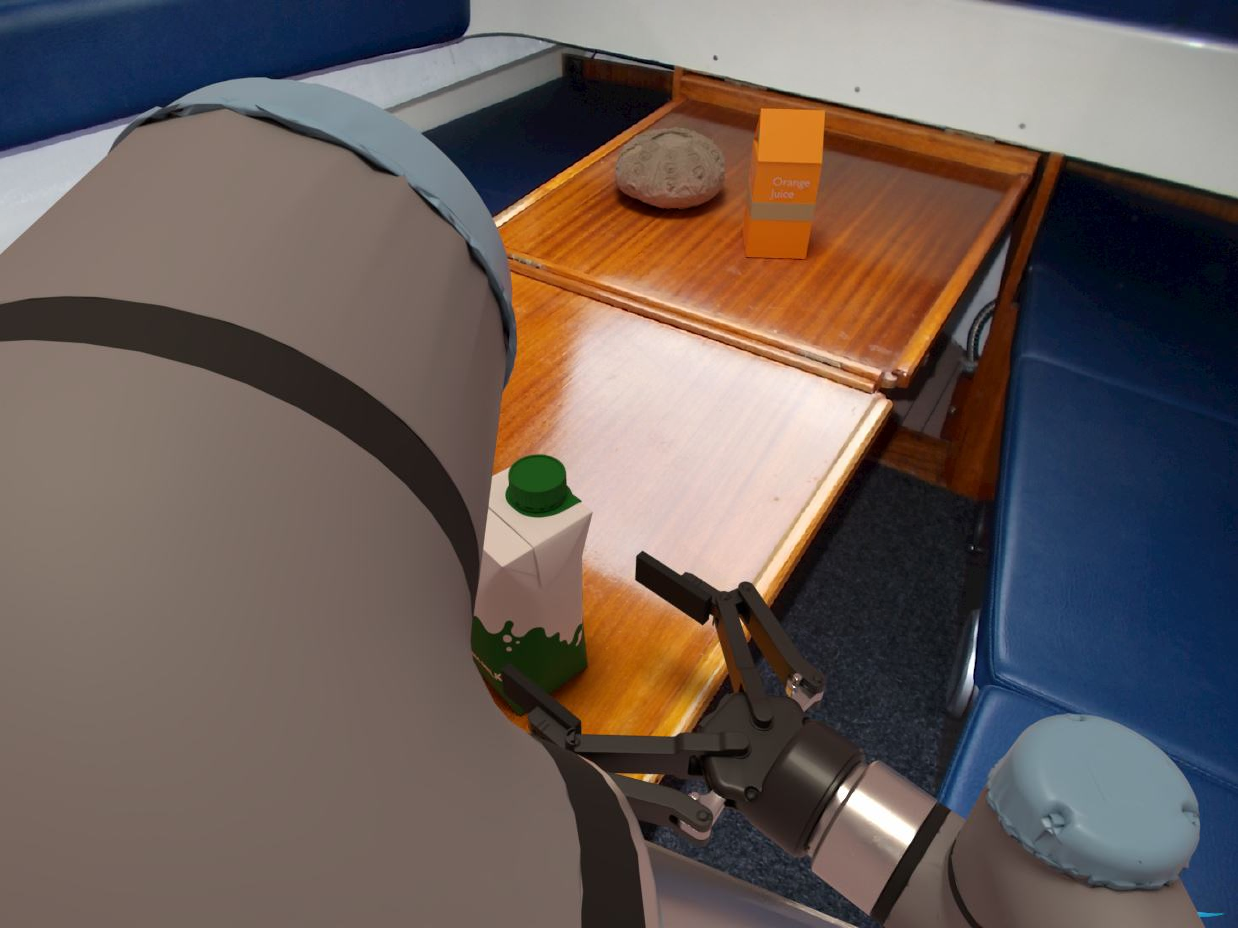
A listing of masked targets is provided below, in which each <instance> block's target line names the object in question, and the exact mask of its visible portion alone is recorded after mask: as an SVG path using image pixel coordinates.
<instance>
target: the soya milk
mask: <svg viewBox="0 0 1238 928" xmlns="http://www.w3.org/2000/svg"><path fill="white" fill-rule="evenodd" d="M593 513H594V512H593V511H592V510H591V509H590V508H589V507H588V506H586V505H585V504H583V501H582V500H581V498H579V497H578V496H576V495H575V494H573V491H572V490H571V488H570V486H568V483H567V471H566V467H565V465H564V463H563V462H562V461H560V460H559V459H558V458H556V457H554V456H552V455H549V454H542V453H540V454H539V453H535V454H529V455H526V456H525V455H524V456H522V457H520V458H518V459H516V460H515V461H514V462H513V463H512V465H511V466H509V467H507V468H505V469H503V470H501V471H500V472H497V473H495V474H493V475H492V482H491V490H490V498H489V506H488V514H487V523H486V531H485V539H484V547H483V555H482V563H481V571H480V578H479V584H478V590H477V596H476V602H475V609H474V617H473V624H472V632H471V650H472V657H473V661H474V663H475V665H476V667H477V669H478V671H479V673H480V675H481V677H482V678H483V679H485V680H486V681H487V683H488V684H489V685H490V686H491V687H492V688H493V689H494V690H495V692H497V694H499V696H500V697H501V698H502V699H503V700H504V701H505V702H506V703H507V704H508V706H510V708H512V710H513V711H514V712H515V713H516V714H517V715H518V716H519V717H520V716H522V715H523V714H524V713H526V712H525V711H524V710H523V709H522V708H521V707H519V706H518V705H517V704H516V703H515V702H513V701H512V700H511V699H510V698H509V697H508V696H506V695H505V694H504V690H503V682H502V674H501V669H502V668H503V667H505V666H506V665H507V664H508V663H511V664H512V665H513V666H514V667H516V668H517V669H518V670H519V671H521V672H522V673H523V674H524V675H525V676H527V677H528V678H529V679H530V680H532V681H533V682H534V683H535V684H537V685H538V686H539V687H540V688H542V689H543V690H544V691H545V692H546V693H548V694H549V695H550V694H552V693H553V692H555V691H556V690H558V689H559V688H560V687H561V686H563V685H564V684H566V683H567V682H569V680H571V679H572V678H574V677H576V676H577V675H578V674H580V673H581V672H582V671H583V670H585V669H586V668H587V667H589V663H588V656H587V646H586V637H585V628H584V627H585V625H584V597H583V596H584V593H583V587H584V585H583V582H584V581H583V554H584V550H585V546H586V542H587V537H588V534H589V529H590V526H591V522H592V517H593Z"/></svg>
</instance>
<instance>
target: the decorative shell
mask: <svg viewBox="0 0 1238 928" xmlns="http://www.w3.org/2000/svg"><path fill="white" fill-rule="evenodd" d="M723 153H724V150H722V149H720V148H719V147H718V145H717V144H716V143H715V141H714V139H710V138H708V137H707V136H706V135H703V134H701V133H699V132H698V133H697V132H696V131H695V130H691V129H689V128H685V127H677V126H674V127H669V128H666V127H665V128H659V129H658V128H657V129H656V128H652V129H651V130H647V131H644V132H642V133H639V134H637V135H634V136H633V138H631V139H630V140H629V141H628V142H627V143H626V144H623V145H622V148H621V149H620V152H619V153H618V156H617V159H616V162H615V165H614V169H613V172H614V176H615V182H616V185H617V187H618V189H619V190H620V191H621V192H622V193H623V194H625V195H627V196H629V197H630V198H633V199H636V200H638V201H640V202H642V203H644V204H647V205H650V206H652V207H653V206H654V207H656V208H661V209H664V208H665V209H664V210H671V209H670V208H675V209H676V208H678V209H677V210H684V209H688V208H692V207H698V206H700V205H702V204H704V203H708V202H709V201H711V200H712V199H713V198H715V196H716V195H717V194H719V192H720V191H721V189H722V187H723V186H724V183H725V181H726V175H727V172H726V169H727V167H726V158H725V157H724V155H723Z"/></svg>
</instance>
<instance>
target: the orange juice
mask: <svg viewBox="0 0 1238 928" xmlns="http://www.w3.org/2000/svg"><path fill="white" fill-rule="evenodd" d="M825 117H826V110H824V109H796V108H795V109H792V108H791V109H790V108H789V109H788V108H762V107H761V108H760V111H759V117H758V120H757V125H756V129H755V133H754V138H753V140H752V141H753V142H752V150H751V159H750V166H749V175H748V180H747V189H746V202H745V209H744V218H743V227H742V234H743V235H742V239H743V238H744V242H743V247H744V246H745V249H744V255H745V254H746V256H748V257H771V258H773V257H775V258H778V257H779V258H802V259H804V258H806V259H807V253H808V247H809V242H810V236H811V230H812V225H813V222H814V215H815V210H816V202H817V197H818V196H817V195H818V190H819V184H820V180H821V173H822V167H823V154H824V152H823V151H824V137H825V136H824V135H825V119H826V118H825ZM746 256H745V257H746Z"/></svg>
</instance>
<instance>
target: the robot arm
mask: <svg viewBox="0 0 1238 928" xmlns="http://www.w3.org/2000/svg"><path fill="white" fill-rule="evenodd" d="M512 281H513V280H512V273H511V266H510V263H509V258H508V253H507V251H506V248H505V245H504V242H503V238H502V237H501V234H500V231H499V229H498V227H497V224H496V222H495V220H494V218H493V216H492V214H491V213H490V210H489V209H488V207H487V206H486V204H485V203H484V201H483V199H482V197H481V196H480V194H479V193H478V191H477V190H476V188H474V186H473V184H472V183H471V182H470V181H469V179H468V178H467V176H465V174H464V173H463V172H462V171H461V169H460V168H459V167H458V166H457V165H456V164H455V163H454V162H453V161H452V160H451V159H450V158H449V157H448V156H447V155H446V154H445V153H444V152H443V151H442V150H441V149H440V148H438V146H437V145H436V144H435V143H433V142H432V141H431V140H430V139H429V138H428V137H426V136H425V135H423V134H422V133H421V132H420V131H418V130H417V129H416V128H414V127H413V126H411V125H410V124H408V123H407V122H405V121H404V120H402V119H401V118H399V117H397V116H395V114H392V113H391V112H389V111H387V110H386V109H384V108H381V107H380V106H378V105H376V104H374V103H372V102H370V101H368V100H366V99H363V98H361V97H359V96H356V95H354V94H351V93H349V92H345V91H343V90H341V89H337V88H335V87H330V86H327V85H323V84H320V83H310V82H305V81H301V80H299V81H298V80H294V79H272V78H268V77H244V78H234V79H229V80H225V81H220V82H216V83H212V84H210V85H206V86H204V87H201V88H199V89H195V90H194V91H191V92H190V93H189V92H188V93H187V94H185V95H184V96H182V97H180V98H178V99H176V100H174V101H173V102H171V103H170V104H168V105H166V106H165V107H160V106H155V107H153V108H150V109H149V110H146V111H145V112H143V113H141V114H139V115H138V116H137V117H136V118H134V119H133V120H132V121H131V122H130V123H128V124H127V125H126V126H125V127H124V129H123V130H122V131H121V132H120V133H119V134H118V135H117V136H116V137H115V139H114V140H113V142H112V144H111V146H110V148H109V150H108V152H107V154H106V155H105V156H104V157H103V158H102V159H101V160H100V161H98V162H97V164H96V165H95V166H93V167H92V168H91V170H89V171H88V172H87V173H86V174H85V175H84V176H83V177H81V179H80V180H79V181H77V182H76V183H75V184H74V185H73V186H72V187H71V188H70V189H69V190H68V191H66V192H65V194H63V195H62V196H61V197H60V198H59V199H58V200H57V201H56V202H55V203H53V204H52V206H50V207H49V208H48V209H47V210H46V211H45V212H44V213H43V214H42V215H40V217H38V218H37V220H35V221H34V222H33V223H32V224H31V225H30V226H29V227H28V228H27V229H26V230H24V232H22V234H20V235H19V236H18V237H17V238H16V239H15V240H14V241H13V242H11V244H9V246H8V247H7V248H5V249H4V250H3V251H2V252H1V253H0V928H859V927H858V926H855V925H853V924H851V923H849V922H846V921H844V920H842V919H839V918H836V917H834V916H831V915H829V914H826V913H824V912H822V911H819V910H816V909H815V908H811V907H809V906H808V905H804V904H802V903H800V902H797V901H795V900H792V899H790V898H787V897H785V896H782V895H780V894H778V893H775V892H773V891H770V890H768V889H766V888H763V887H761V886H759V885H756V884H753V883H750V882H748V881H746V880H744V879H741V878H739V877H736V876H734V875H731V874H729V873H726V872H724V871H722V870H719V869H717V868H714V867H712V866H709V865H707V864H704V863H702V862H700V861H697V860H695V859H692V858H691V857H687V856H685V855H682V854H681V853H678V852H675V851H673V850H671V849H668V848H665V847H663V846H661V845H659V844H656V843H653V842H651V841H649V840H647V839H645V838H644V835H643V833H642V830H641V827H640V823H639V821H642V822H646V823H649V824H652V825H653V824H654V825H657V826H661V827H665V828H669V829H671V830H672V831H673V832H675V833H677V834H678V835H680V836H681V837H683V838H684V839H686V840H687V841H689V842H690V843H691V844H693V845H695V846H698V847H703V846H706V845H707V844H708V843H709V841H710V839H711V833H712V828H713V826H714V824H715V823H716V821H717V820H718V818H719V817H720V815H721V813H722V812H723V811H724V809H725V808H726V809H731V810H733V811H736V812H737V813H740V814H741V815H742V816H743V817H745V819H746V820H747V821H748V822H749V823H750V824H751V825H752V826H753V827H754V828H756V829H757V830H758V831H760V832H761V833H762V834H763V835H765V837H767V838H768V839H770V840H771V841H772V842H773V843H774V844H776V845H777V846H779V847H780V848H781V849H782V850H784V851H785V852H786V853H788V855H790V856H791V857H793V858H794V859H796V858H799V859H802V858H805V857H806V856H809V857H810V858H811V859H810V864H809V865H810V869H811V872H812V873H814V874H815V875H816V876H817V877H819V878H820V879H821V880H822V881H824V882H825V883H826V884H828V885H829V886H830V887H831V888H833V889H834V890H835V891H837V892H838V893H839V894H840V895H842V896H843V897H844V898H845V899H847V900H848V901H849V902H851V903H852V904H853V905H855V906H856V907H857V908H859V909H860V910H861V911H862V912H864V913H865V914H866V915H868V916H870V918H871V919H872V920H873V921H874V922H876V923H877V924H879V925H881V926H882V927H884V928H1206V926H1205V925H1204V922H1203V921H1202V919H1201V917H1200V914H1199V912H1198V910H1197V909H1196V906H1195V905H1194V903H1193V901H1192V899H1191V897H1190V895H1189V893H1188V891H1187V889H1186V887H1185V885H1184V884H1183V881H1182V880H1181V874H1182V873H1184V871H1185V870H1186V869H1190V861H1192V856H1193V854H1194V853H1195V852H1196V850H1197V847H1198V844H1199V842H1200V837H1201V836H1200V831H1201V822H1200V811H1199V802H1198V800H1197V797H1196V794H1195V792H1194V790H1193V788H1192V786H1191V784H1190V782H1189V781H1188V779H1187V778H1186V776H1185V775H1184V772H1183V771H1182V770H1181V769H1180V768H1179V767H1178V765H1177V764H1176V763H1175V762H1174V761H1173V760H1172V759H1171V758H1170V757H1169V756H1168V755H1167V754H1166V753H1165V752H1164V751H1163V750H1162V749H1161V748H1160V747H1159V746H1157V745H1156V744H1155V743H1153V741H1151V740H1149V739H1148V738H1146V737H1145V736H1143V735H1142V734H1140V733H1138V732H1137V731H1134V730H1133V729H1131V728H1129V727H1127V726H1125V725H1123V724H1121V723H1119V722H1117V721H1114V720H1111V719H1107V718H1105V717H1101V716H1097V715H1091V714H1078V713H1063V714H1056V715H1050V716H1047V717H1044V718H1041V719H1039V720H1037V721H1036V722H1034V723H1032V724H1031V725H1029V726H1028V727H1026V728H1025V729H1024V730H1023V731H1022V732H1021V733H1020V734H1019V736H1018V737H1017V738H1016V740H1015V742H1014V743H1013V744H1012V745H1011V747H1010V748H1009V749H1008V751H1006V753H1005V754H1004V756H1003V757H1001V758H1000V759H998V760H997V763H996V764H994V765H992V766H991V767H990V770H989V772H988V774H987V775H986V782H985V784H984V786H983V788H982V790H981V792H980V794H979V795H978V797H977V799H976V801H975V803H974V804H973V806H972V809H971V810H970V812H969V814H968V815H967V817H966V818H964V817H962V816H961V815H959V814H958V813H956V812H955V811H953V810H952V809H951V808H949V806H947V805H945V803H944V804H943V803H942V802H941V801H940V802H939V800H938V799H937V798H935V797H934V796H933V795H931V794H930V793H928V792H927V791H926V790H925V789H922V788H921V787H920V786H918V785H917V784H915V783H914V782H912V781H911V780H910V779H908V778H906V776H904V775H903V774H901V773H899V772H898V771H897V770H896V769H895V768H892V767H891V766H890V765H888V764H887V763H885V762H883V761H882V760H881V759H880V760H875V761H873V762H871V763H869V764H868V763H866V762H865V761H866V754H865V753H864V749H863V748H862V747H861V746H859V745H858V744H856V743H855V742H853V741H852V740H851V739H849V738H848V737H846V736H845V735H843V734H842V733H840V732H839V731H837V730H836V729H834V728H833V727H832V726H831V725H828V724H827V723H826V722H824V721H822V720H819V719H812V718H811V717H810V716H808V715H807V713H806V711H807V710H808V709H809V708H811V709H816V708H818V707H820V705H821V703H822V700H823V697H824V694H825V690H826V686H827V683H828V678H827V676H826V675H825V674H824V673H823V672H822V671H820V670H819V669H818V668H817V667H815V666H814V665H813V664H811V663H810V662H809V661H808V660H807V659H805V658H804V657H803V655H802V653H801V652H800V651H799V650H798V648H797V646H796V645H795V644H794V642H793V641H792V639H791V638H790V636H789V634H787V632H786V629H784V628H783V626H782V625H781V623H780V622H779V620H778V618H777V617H776V616H775V614H774V613H773V611H772V610H771V608H770V607H769V605H768V604H767V603H766V601H765V599H764V598H763V596H762V595H761V594H760V592H759V591H758V589H757V587H756V586H755V585H754V584H753V583H752V582H750V581H747V580H745V581H741V582H739V583H738V585H737V588H734V589H732V590H729V591H727V590H719V589H717V588H715V587H714V586H713V585H711V584H710V583H708V582H707V581H705V580H703V579H702V578H700V577H698V576H697V575H695V574H694V573H692V572H688V571H684V572H683V573H682V574H680V573H678V572H677V571H676V570H674V569H673V568H671V567H669V566H668V565H666V564H665V563H663V562H661V561H660V560H658V559H657V558H655V557H653V555H651V554H649V553H647V552H646V551H644V550H641V551H640V552H639V553H638V554H637V555H635V572H634V581H636V582H637V583H639V585H642V586H643V587H644V588H646V589H648V590H649V591H650V592H652V593H654V594H655V595H657V596H658V597H659V598H661V599H663V600H664V601H666V602H667V603H668V604H670V605H671V606H673V607H674V608H676V609H677V610H679V611H680V612H682V613H684V614H685V615H686V616H688V617H689V618H690V619H692V620H694V621H695V622H696V623H698V624H699V625H701V626H704V625H705V624H706V623H707V622H709V620H710V617H712V621H711V622H712V623H711V626H712V627H715V631H716V635H717V638H718V642H719V646H720V648H721V652H722V656H723V658H724V662H725V665H726V669H727V672H728V676H729V679H730V682H731V686H732V689H733V693H731V694H730V693H729V692H726V693H725V694H724V696H722V698H720V699H719V702H718V704H717V707H716V708H715V710H713V711H712V712H710V713H708V714H706V715H705V716H704V717H703V718H702V719H701V720H700V722H699V723H698V724H697V730H696V732H691V731H689V732H687V731H685V732H684V731H683V732H680V733H678V734H676V735H673V736H672V735H670V736H668V735H667V736H666V735H636V734H635V735H631V734H630V735H628V734H597V733H596V734H595V733H593V734H590V733H582V731H583V729H582V720H581V719H580V718H579V717H578V716H577V715H575V714H574V713H573V712H571V711H570V710H569V709H568V708H566V707H565V706H564V705H563V704H561V703H560V702H559V701H558V700H556V699H555V698H554V697H553V696H551V695H550V694H548V693H546V692H545V691H544V690H543V689H542V688H540V687H539V686H538V685H537V684H535V683H534V682H533V681H532V680H530V679H529V678H528V677H527V676H525V675H524V674H523V673H522V672H521V671H519V670H518V669H517V668H516V667H514V666H513V665H512V664H511V663H508V664H507V665H506V666H505V667H503V668H502V669H501V674H502V682H503V690H504V694H505V695H506V696H508V697H509V698H510V699H511V700H512V701H513V702H515V703H516V704H517V705H518V706H519V707H521V708H522V709H523V710H524V711H525V712H524V713H526V714H527V715H526V718H527V729H528V730H529V732H528V731H527V730H525V729H523V728H522V727H520V726H518V725H517V724H515V723H514V722H512V721H511V720H510V719H509V717H508V716H507V715H506V714H505V713H504V712H503V711H502V709H500V708H499V706H498V705H497V704H496V702H495V701H494V698H493V697H492V695H491V692H490V691H489V689H488V687H487V685H486V683H485V681H484V678H483V676H482V675H481V674H480V673H479V671H478V669H477V667H476V665H475V663H474V661H473V657H472V650H471V632H472V624H473V617H474V609H475V602H476V596H477V590H478V584H479V578H480V571H481V563H482V555H483V547H484V539H485V531H486V523H487V514H488V506H489V498H490V490H491V482H492V476H493V475H494V467H495V457H496V449H497V442H498V433H499V425H500V416H501V411H502V410H501V409H502V401H503V394H504V392H505V390H506V388H507V386H508V384H509V382H510V379H511V377H512V374H513V371H514V369H515V362H516V358H517V352H518V335H517V334H518V333H517V320H516V315H515V310H514V306H513V283H512ZM743 625H744V627H745V629H746V630H747V631H748V633H749V635H750V637H751V639H753V641H754V643H755V644H756V646H757V647H758V649H759V650H760V652H761V654H762V656H763V657H764V658H765V660H766V661H767V664H769V666H770V668H771V669H772V671H773V672H774V674H775V676H776V677H777V678H778V680H779V681H780V683H781V684H782V685H783V686H784V688H785V689H784V691H785V694H786V695H779V694H778V695H777V694H767V693H766V689H765V686H764V683H763V680H762V677H761V673H760V670H759V668H758V667H757V666H756V665H755V662H754V659H753V656H752V653H751V649H750V648H749V644H748V641H747V637H746V634H745V631H744V628H743ZM692 756H696V757H692ZM622 774H626V775H627V774H629V775H660V776H661V775H664V776H665V775H668V776H674V777H675V778H676V779H678V780H694V781H695V780H696V781H697V780H701V781H704V784H705V787H706V790H707V793H705V794H701V793H699V792H698V791H691V792H689V793H686V792H683V791H680V790H679V789H676V788H674V787H669V786H665V785H662V784H658V783H654V782H651V781H646V780H642V779H638V778H634V777H630V776H626V775H622Z"/></svg>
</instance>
